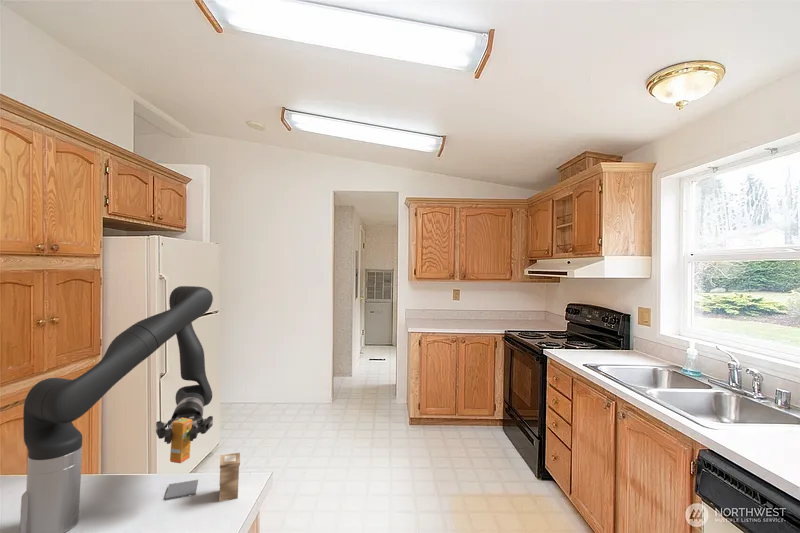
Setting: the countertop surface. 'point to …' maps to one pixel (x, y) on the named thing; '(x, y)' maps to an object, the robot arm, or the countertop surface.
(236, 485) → the box
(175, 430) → the supplement box
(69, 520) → the robot arm
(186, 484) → the coaster
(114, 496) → the countertop surface
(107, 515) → the countertop surface
